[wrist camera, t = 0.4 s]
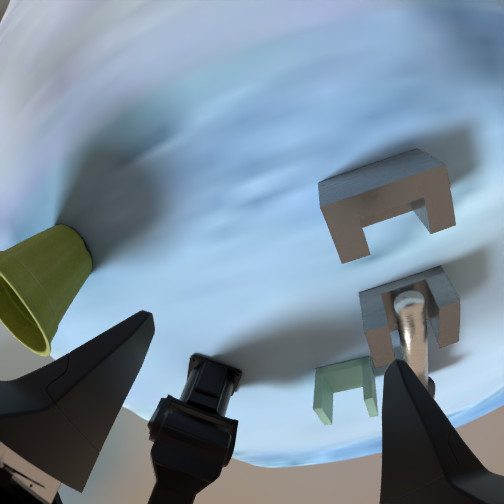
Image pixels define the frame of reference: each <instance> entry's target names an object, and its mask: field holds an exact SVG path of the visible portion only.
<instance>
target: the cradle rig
mask: <svg viewBox="0 0 504 504" xmlns="http://www.w3.org/2000/svg"><path fill="white" fill-rule="evenodd" d="M318 189H319V200H320V209H321V211H322V213H323V216H324V218H325V221H326V223H327V226H328V228H329V231H330V233H331V236H332V239H333V241H334V244H335V246H336V249H337V252H338V254H339V257H340V260H341V263H342V264H343V263H347V262H350V261H353V260H356V259H359V258H362V257H365V256H368V255H370V252H369V248H368V245H367V242H366V238H365V235H364V232H363V229H362V228H363V227H366V226H369V225H372V224H375V223H378V222H381V221H384V220H386V219H389V218H392V217H395V216H398V215H401V214H404V213H407V212H410V211H414V212H415V213H416V215H417V216H418V217H419V219H420V220H421V221H422V223H423V224H424V225H425V227H426V228H427V229H428V231H429V232H430V233H431V234H433V233H435V232H438V231H441V230H444V229H446V228H449V227H452V226H455V225H456V222H455V215H454V208H453V202H452V196H451V190H450V185H449V180H448V175H447V170H446V166H445V164H443V163H442V162H440V161H438V160H437V159H435V158H433V157H432V156H430V155H428V154H426V153H425V152H423V151H421V150H419V149H415V150H412V151H409V152H406V153H402V154H399V155H396V156H393V157H390V158H387V159H384V160H382V161H379V162H376V163H373V164H370V165H367V166H364V167H361V168H358V169H356V170H353V171H350V172H347V173H344V174H342V175H339V176H336V177H333V178H330V179H328V180H325V181H322V182H320V183H318ZM411 290H413V291H418V292H420V293H421V294H422V295H423V297H424V303H425V313H426V320H427V319H430V322H431V325H432V327H433V330H434V333H435V336H436V339H437V342H438V345H439V348H442V347H444V346H447V345H450V344H453V343H455V342H458V341H459V325H460V299H459V297H458V295H457V293H456V292H455V290H454V288H453V286H452V284H451V282H450V281H449V279H448V277H447V275H446V274H445V272H444V270H443V269H442V267H441V266H438V267H435V268H433V269H430V270H427V271H424V272H421V273H418V274H416V275H413V276H410V277H407V278H404V279H401V280H398V281H395V282H392V283H389V284H386V285H382V286H379V287H376V288H373V289H370V290H366V291H363V292H360V293H359V298H360V304H361V310H362V317H363V324H364V331H365V335H366V338H367V341H368V345H369V348H370V352H371V355H372V359H373V362H374V366H375V368H377V367H381V366H384V365H388V364H392V362H393V361H394V360H395V356H394V351H393V345H392V340H391V335H390V331H393V330H397V329H398V325H397V320H396V314H395V309H394V300H395V299H396V297H397V296H398V295H400V294H401V293H403V292H405V291H411Z"/></svg>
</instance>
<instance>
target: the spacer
mask: <svg viewBox="0 0 504 504" xmlns="http://www.w3.org/2000/svg"><path fill="white" fill-rule="evenodd" d="M359 387H363V392H364V401H365V404H366V407H367V410H368V413H369V415H370V417H375V416H378V407H377V395H376V384H375V376H374V373H373V369H372V366H371V362H370V359H369V356H367V357H364V358H360V359H356V360H351V361H347V362H343V363H338V364H334V365H329V366H324V367H319V368H316V372H315V389H314V403H313V410H314V411H315V412H316V414H317V415H318V417H319V418H320V420H321V421H322V422H323V424H324V425H330V424H332V415H333V393H335V392H340V391H345V390H350V389H355V388H359Z"/></svg>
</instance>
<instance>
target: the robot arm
mask: <svg viewBox="0 0 504 504" xmlns="http://www.w3.org/2000/svg"><path fill="white" fill-rule="evenodd" d="M154 332H155V326H154V319H153V315H152V313H150V312H147V311H144V310H142V311H139V312H138V313H136V314H134V315H132V316H131V317H129V318H127V319H126V320H124V321H122V322H121V323H119V324H117V325H115V326H114V327H112V328H110V329H109V330H107V331H105V332H103V333H102V334H100V335H98V336H97V337H95V338H93V339H92V340H90V341H88V342H86V343H85V344H83V345H81V346H80V347H78V348H76V349H75V350H73V351H71V352H70V354H69V353H68V354H66V355H64V356H63V357H61V358H59V359H57V360H55V361H54V362H52V363H50V364H48V365H46V366H44V367H42V368H40V369H38V370H35V371H33V372H31V373H29V374H26V375H24V376H22V377H20V378H17V379H15V380H10V381H0V504H63V503H62V501H61V498H60V496H59V493H58V489H59V487H60V484H61V483H63V484H65V485H67V486H69V487H71V488H73V489H75V490H77V491H79V492H81V493H82V491H83V489H84V487H85V485H86V482H87V480H88V478H89V476H90V473H91V471H92V469H93V466H94V464H95V462H96V460H97V458H98V455H99V452H100V451H101V449H102V446H103V444H104V442H105V440H106V438H107V436H108V434H109V431H110V429H111V427H112V425H113V423H114V421H115V419H116V417H117V415H118V413H119V411H120V409H121V407H122V405H123V403H124V401H125V399H126V397H127V395H128V393H129V391H130V389H131V387H132V385H133V383H134V381H135V379H136V377H137V375H138V373H139V371H140V369H141V367H142V364H143V362H144V359H145V356H146V354H147V351H148V348H149V346H150V343H151V341H152V338H153V335H154ZM241 375H242V371H240V370H238V369H234V368H231V367H228V366H225V365H222V364H219V363H216V362H213V361H210V360H207V359H204V358H201V357H198V356H195V355H192V356H191V358H190V362H189V369H188V376H187V382H186V385H185V387H184V390H183V392H182V394H181V397H180V399H179V400H178V399H176V398H174V397H172V396H171V395H168V396H167V398H161V400H160V402H159V404H158V406H157V409H156V410H155V412H154V414H153V416H152V417H151V419H150V421H149V423H148V428H149V430H150V432H149V434H150V437H149V440H150V441H153V442H154V444H153V446H152V449H151V454H150V459H151V463H152V467H153V472H154V476H155V480H156V483H155V485H154V488H153V490H152V493H151V496H150V498H149V501H148V503H147V504H193V502H194V499H195V496H196V494H197V493H199V492H200V491H201V490H203V489H204V488H205V487H207V486H208V485H209V484H211V483H212V482H214V481H215V480H216V479H217V478H218V477H219V476H220V473H221V470H222V468H223V467H226V466H227V465H228V463H229V461H230V459H231V457H232V454H233V451H234V447H235V440H236V434H237V427H238V420H235V419H234V420H233V419H230V418H227V417H225V414H226V410H227V407H228V403H229V400H230V397H231V396H232V395H233V393H234V391H235V389H236V387H237V384H238V382H239V380H240V378H241ZM380 504H504V476H502V475H498V474H495V473H492V472H490V471H489V470H487V469H486V468H485V467H484V466H483V465H482V463H481V462H480V461H479V460H478V458H477V457H476V456H475V455H474V454H473V453H472V451H471V450H470V449H469V447H468V446H467V445H466V444H465V442H464V441H463V440H462V438H461V437H460V436H459V434H458V433H457V431H456V430H455V428H454V427H453V426H452V425H451V423H450V421H449V420H448V418H447V417H446V415H445V414H444V413H443V411H442V410H441V408H440V407H439V406H438V404H437V403H436V401H435V400H434V399H433V397H432V396H431V394H430V393H429V392H428V390H427V389H426V388H425V386H424V385H423V383H422V382H421V381H420V379H419V378H418V377H417V375H416V374H415V373H414V371H413V370H412V369H411V367H410V366H409V365H408V364H407V362H406V361H405V360H400V359H395V360H394V361H393V362H392V364H391V365H390V366H389V368H388V369H387V371H386V372H385V375H384V386H383V403H382V477H381V493H380Z"/></svg>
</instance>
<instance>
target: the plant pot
mask: <svg viewBox="0 0 504 504" xmlns="http://www.w3.org/2000/svg"><path fill="white" fill-rule="evenodd" d="M91 271H92V259H91V255H90V253H89V252H88V251H87V250H86V247H85V244H84V241H83V239H82V238H81V237H80V236H79V235H78V234H77V233H76V232H75V231H74V230H73V229H71V228H70V227H68V226H66V225H56V226H53V227H51V228H49V229H47V230H45V231H43V232H41V233H38V234H36V235H34V236H32V237H30V238H28V239H26V240H24V241H22V242H20V243H19V244H17V245H15V246H13V247H11V248H9V249H7V250H5V251H0V321H1V322H2V323H3V325H4V326H5V327H6V328H7V329H8V330H9V331H10V333H11V334H12V335H13V336H14V337H15V338H16V339H17V340H18V341H19V342H20V343H22V344H23V345H24V346H25V347H27V348H28V349H30V350H31V351H33V352H34V353H37V354H39V355H41V356H48V355H49V354H50V352H51V344H50V343H51V341H52V339H53V337H54V335H55V334H56V332H57V329H58V325H59V323H60V321H61V319H62V318H63V316H64V314H65V313H66V311H67V309H68V308H69V306H70V304H71V303H72V301H73V299H74V298H75V296H76V295H77V293H78V292H79V290H80V288H81V287H82V285H83V284H84V282H85V281H86V279H87V278H88V276H89V275H90V273H91Z"/></svg>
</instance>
